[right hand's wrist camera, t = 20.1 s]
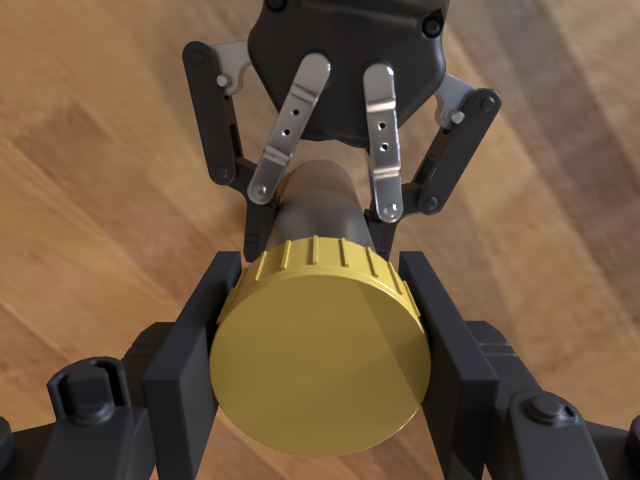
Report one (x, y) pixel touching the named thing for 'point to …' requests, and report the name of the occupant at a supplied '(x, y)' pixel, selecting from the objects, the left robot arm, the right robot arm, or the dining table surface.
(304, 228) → the jar
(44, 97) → the dining table surface
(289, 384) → the lid
